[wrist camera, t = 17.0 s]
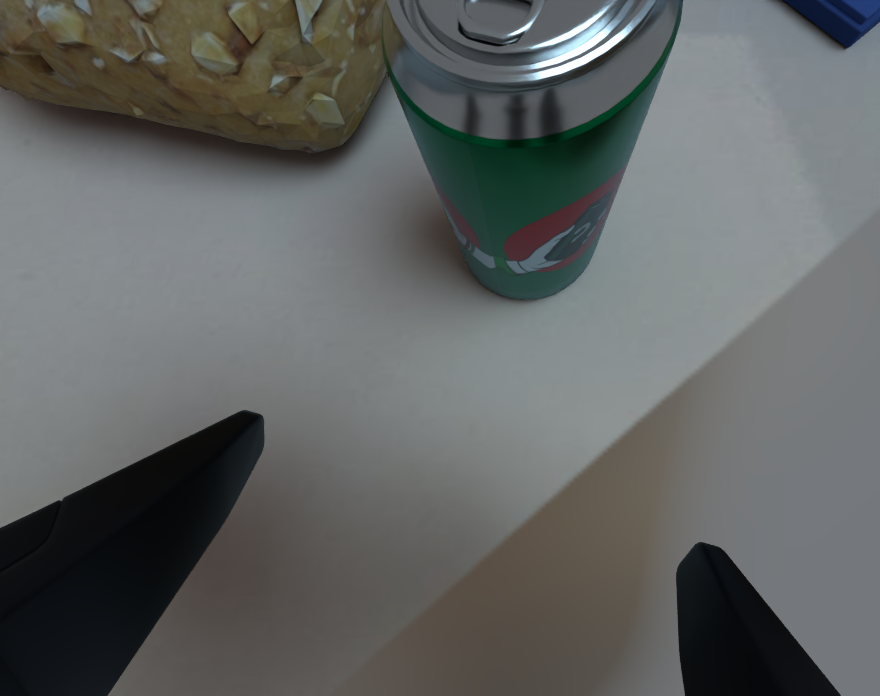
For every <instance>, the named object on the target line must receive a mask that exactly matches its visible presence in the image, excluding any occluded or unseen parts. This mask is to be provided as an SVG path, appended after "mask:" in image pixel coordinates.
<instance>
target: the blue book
mask: <svg viewBox="0 0 880 696" xmlns="http://www.w3.org/2000/svg"><path fill="white" fill-rule="evenodd" d="M784 1H785V2H787V3H788V4H789V5H791V6H792V7H793V8H795V9H796V10H797V11H799V12H800V13H801V14H803V15H804V16H805V17H807V18H808V19H809V20H811V21H812V22H813V23H815V24H816V25H817V26H819V27H820V28H821V29H823V30H824V31H825V32H827V33H828V34H829V35H831V36H832V37H833V38H835V39H836V40H837V41H839V42H840V43H841V44H843V45H844V46H845V47H847V48H848V47H850V46H851V45H853V44H854V43H855V42H856V41H857V40H859V39H860V38H861V37H862V36H863V35H865V34H866V33H867V32H868V31H869V30H871V29H872V28H873V27H874V26H875V25H876V24H878V23H879V22H880V0H784Z"/></svg>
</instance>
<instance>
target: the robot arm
mask: <svg viewBox="0 0 880 696" xmlns="http://www.w3.org/2000/svg"><path fill="white" fill-rule="evenodd" d="M263 448H264V418H263V416H262V415H260V414H258V413H254V412H251V411H247V410H243V411H240V412H237V413H235V414H233V415H231V416H229V417H227V418H225V419H223V420H221V421H219V422H217V423H215V424H213V425H211V426H209V427H207V428H205V429H203V430H201V431H199V432H197V433H195V434H193V435H191V436H189V437H187V438H185V439H183V440H180V441H178V442H176V443H174V444H172V445H170V446H168V447H166V448H164V449H162V450H160V451H158V452H156V453H154V454H152V455H150V456H148V457H146V458H144V459H142V460H140V461H138V462H136V463H134V464H132V465H130V466H128V467H125V468H123V469H121V470H119V471H117V472H115V473H113V474H111V475H109V476H107V477H105V478H103V479H101V480H99V481H97V482H95V483H93V484H91V485H89V486H87V487H85V488H83V489H81V490H79V491H77V492H75V493H73V494H70V495H68V496H66V497H64V498H63V500H62V501H60V500H58V501H56V502H54V503H52V504H50V505H48V506H46V507H44V508H42V509H40V510H38V511H36V512H33V513H31V514H29V515H27V516H25V517H23V518H21V519H19V520H16V521H14V522H12V523H10V524H8V525H6V526H4V527H1V528H0V696H107V695H108V694H109V692H110V691H111V690H112V688H113V687H114V685H115V684H116V682H117V681H118V679H119V678H120V676H121V675H122V673H123V672H124V670H125V669H126V667H127V666H128V664H129V663H130V661H131V660H132V658H133V657H134V655H135V654H136V653H137V651H138V650H139V648H140V647H141V645H142V644H143V642H144V641H145V639H146V638H147V636H148V635H149V633H150V632H151V630H152V629H153V627H154V626H155V624H156V623H157V621H158V620H159V618H160V617H161V616H162V614H163V613H164V611H165V610H166V608H167V607H168V605H169V604H170V602H171V601H172V599H173V598H174V596H175V595H176V593H177V592H178V590H179V589H180V587H181V586H182V584H183V583H184V581H185V580H186V579H187V577H188V576H189V574H190V573H191V571H192V570H193V568H194V567H195V565H196V564H197V562H198V561H199V559H200V558H201V556H202V555H203V553H204V552H205V550H206V549H207V547H208V546H209V544H210V543H211V542H212V540H213V539H214V537H215V536H216V534H217V533H218V531H219V530H220V528H221V527H222V525H223V524H224V522H225V520H226V519H227V517H228V515H229V514H230V512H231V510H232V508H233V506H234V505H235V503H236V501H237V499H238V497H239V495H240V493H241V491H242V489H243V488H244V486H245V484H246V482H247V480H248V478H249V476H250V474H251V472H252V470H253V469H254V467H255V465H256V463H257V461H258V459H259V457H260V455H261V453H262V451H263ZM676 585H677V610H678V635H679V652H680V662H681V671H682V677H683V684H684V690H685V696H841V695H840V694H839V693H838V691H837V690H836V689H835V688H834V686H833V685H832V684H831V683H830V681H829V680H828V679H827V678H826V676H825V675H824V674H823V673H822V671H821V670H820V669H819V668H818V666H817V665H816V664H815V663H814V662H813V660H812V659H811V658H810V657H809V655H808V654H807V653H806V652H805V650H804V649H803V648H802V647H801V645H800V644H799V643H798V642H797V640H796V639H795V638H794V637H793V636H792V634H791V633H790V632H789V631H788V629H787V628H786V627H785V626H784V624H783V623H782V622H781V621H780V620H779V618H778V617H777V616H776V615H775V613H774V612H773V611H772V609H771V608H770V607H769V606H768V605H767V603H766V602H765V601H764V600H763V598H762V597H761V596H760V595H759V593H758V592H757V591H756V590H755V588H754V587H753V586H752V585H751V583H750V582H749V581H748V580H747V579H746V577H745V576H744V575H743V574H742V572H741V571H740V570H739V569H738V567H737V566H736V565H735V564H734V562H733V561H732V560H731V559H730V557H729V556H728V555H727V554H726V553H725V552H724V551H723V550H722V549H721V548H719V547H717V546H714V545H710V544H707V543H703V542H699V543H697V544H695V545H694V547H693V548H692V549H691V550H690V552H689V553H688V554H687V555H686V557H685V558H684V559H683V560H682V561H681V563H680V564H679V566H678V569H677V573H676Z"/></svg>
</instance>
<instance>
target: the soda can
mask: <svg viewBox="0 0 880 696" xmlns="http://www.w3.org/2000/svg"><path fill="white" fill-rule="evenodd" d="M682 5H683V0H385V6H384V11H383V16H382V25H381V43H382V50H383V57H384V62H385V65H386V68H387V71H388V74H389V77H390V80H391V82H392V84H393V87H394V89H395V92H396V94H397V97H398V99H399V101H400V104H401V106H402V109H403V111H404V114H405V116H406V118H407V121H408V123H409V126H410V128H411V131H412V133H413V135H414V138H415V140H416V143H417V145H418V148H419V150H420V152H421V155H422V157H423V160H424V162H425V164H426V167H427V169H428V172H429V174H430V177H431V179H432V181H433V184H434V186H435V189H436V191H437V194H438V196H439V198H440V201H441V203H442V206H443V208H444V211H445V213H446V215H447V218H448V220H449V223H450V225H451V228H452V230H453V232H454V235H455V237H456V240H457V242H458V245H459V247H460V249H461V252H462V254H463V257H464V259H465V262H466V264H467V265H468V267H469V269H470V271H471V272H472V274H473V275H474V276H475V277H476V279H477V280H478V281H479V282H481V283H482V284H483V285H484V286H485V287H487V288H488V289H490V290H491V291H493V292H495V293H497V294H500V295H502V296H505V297H509V298H513V299H521V300H529V299H538V298H544V297H547V296H550V295H553V294H555V293H557V292H559V291H561V290H563V289H565V288H566V287H568V286H569V285H570V284H572V283H573V282H574V281H575V280H576V279H577V278H578V277H579V276H580V275H581V274H582V273H583V271H584V270H585V269H586V267H587V266H588V264H589V262H590V260H591V258H592V256H593V254H594V251H595V248H596V246H597V243H598V240H599V238H600V235H601V233H602V230H603V227H604V225H605V222H606V220H607V217H608V214H609V212H610V209H611V206H612V204H613V201H614V199H615V196H616V193H617V191H618V188H619V186H620V183H621V180H622V178H623V175H624V172H625V170H626V167H627V165H628V162H629V159H630V157H631V154H632V152H633V149H634V146H635V144H636V141H637V138H638V136H639V133H640V131H641V128H642V125H643V123H644V120H645V118H646V115H647V112H648V110H649V107H650V104H651V102H652V99H653V97H654V94H655V91H656V89H657V86H658V84H659V81H660V78H661V76H662V73H663V70H664V68H665V65H666V63H667V60H668V57H669V55H670V52H671V50H672V47H673V44H674V41H675V38H676V35H677V31H678V28H679V25H680V21H681V14H682Z"/></svg>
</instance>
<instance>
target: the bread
mask: <svg viewBox="0 0 880 696" xmlns="http://www.w3.org/2000/svg"><path fill="white" fill-rule="evenodd" d="M384 6H385V0H0V86H1V87H3V88H4V89H6V90H12V91H15V92H17V93H19V94H21V95H23V96H24V98H25V99H26V100H28V99H32V98H36V99H39V100H42V101H45V102H49V103H52V104H58V105H64V106H71V107H78V108H84V109H91V110H99V111H107V112H113V113H120V114H127V115H130V116H133V117H137V118H141V119H146V120H151V121H154V122H158V123H162V124H167V125H171V126H176V127H182V128H188V129H192V130H197V131H201V132H205V133H209V134H214V135H218V136H222V137H226V138H229V139H231V140H234V141H237V142H246V143H253V144H260V145H268V146H272V147H275V148H278V149H281V150H300V151H304V152H308V153H311V154H313V153H316V152H320V151H323V150H327V149H331V148H334V147H338V146H341V145H343V144H344V143H345V142H346V141H347V140H348V139H349V137H350V136H351V135H352V134H353V133H354V132H355V130H356V128H357V126H358V125H359V123H360V121H361V120H362V118H363V116H364V114H365V113H366V111H367V109H368V107H369V106H370V104H371V102H372V100H373V98H374V97H375V95H376V93H377V91H378V90H379V87H380V85H381V83H382V81H383V79H384V77H385V75H386V72H387V68H386V65H385V62H384V57H383V50H382V43H381V25H382V16H383V11H384Z"/></svg>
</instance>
